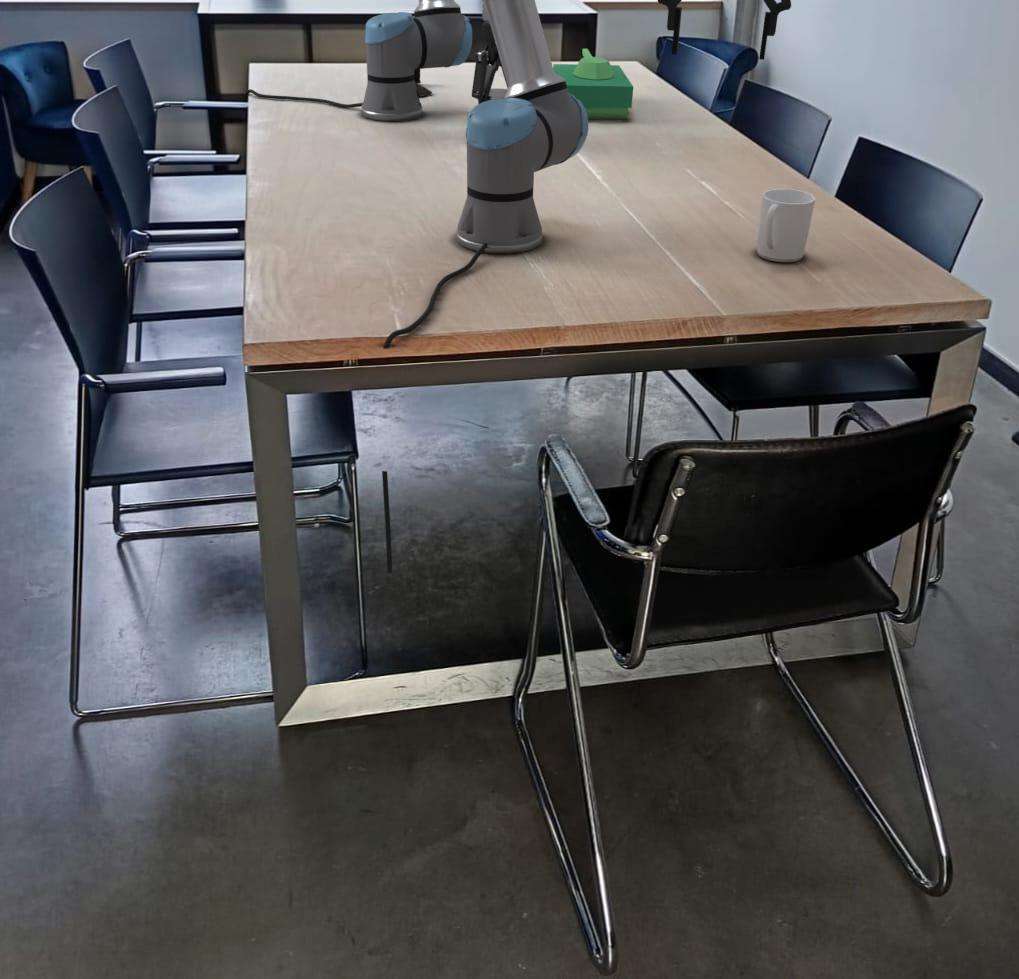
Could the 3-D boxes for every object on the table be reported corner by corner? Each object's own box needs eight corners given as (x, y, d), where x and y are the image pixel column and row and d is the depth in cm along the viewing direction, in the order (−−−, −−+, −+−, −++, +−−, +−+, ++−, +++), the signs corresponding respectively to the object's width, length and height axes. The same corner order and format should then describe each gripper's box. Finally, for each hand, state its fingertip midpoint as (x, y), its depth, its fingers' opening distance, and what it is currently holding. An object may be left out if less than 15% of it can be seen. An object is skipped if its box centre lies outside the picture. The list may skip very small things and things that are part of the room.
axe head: (443, 87, 294) (392, 77, 287) (436, 115, 299) (385, 106, 292) (421, 62, 307) (371, 52, 300) (414, 89, 311) (365, 80, 304)
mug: (769, 242, 197) (777, 185, 192) (814, 254, 192) (824, 196, 187) (738, 258, 190) (746, 199, 184) (785, 270, 185) (795, 210, 180)
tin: (516, 126, 261) (517, 88, 256) (516, 135, 254) (516, 97, 249) (479, 125, 261) (480, 88, 257) (478, 134, 254) (478, 96, 249)
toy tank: (616, 45, 298) (634, 70, 268) (612, 92, 304) (630, 122, 275) (551, 43, 297) (563, 69, 267) (549, 91, 303) (560, 121, 274)
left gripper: (480, 29, 236) (480, 136, 247) (541, 18, 250) (538, 119, 262) (454, 25, 240) (455, 130, 251) (516, 14, 254) (514, 114, 266)
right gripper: (821, -96, 162) (798, 55, 173) (653, -102, 166) (641, 46, 177) (822, -93, 156) (799, 64, 167) (647, -99, 160) (636, 54, 171)
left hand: (497, 125), depth 257 cm, fingers closed on tin, 9 cm apart
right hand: (717, 55), depth 172 cm, fingers open, 13 cm apart
